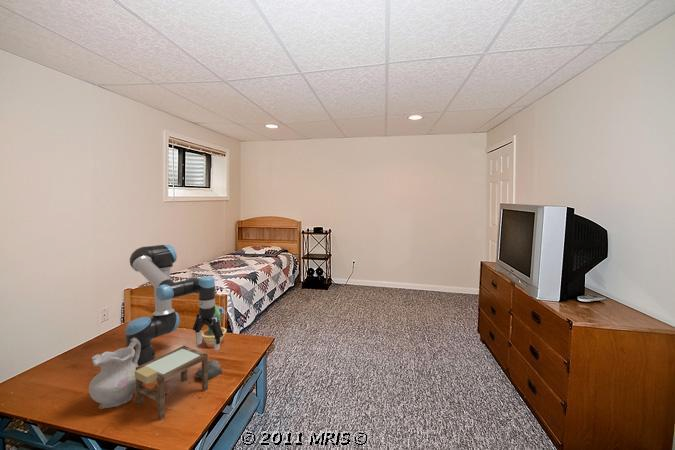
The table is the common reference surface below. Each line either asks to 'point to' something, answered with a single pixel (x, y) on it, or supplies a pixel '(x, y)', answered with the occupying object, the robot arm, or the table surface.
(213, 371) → the rock
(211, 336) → the potted cactus
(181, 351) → the trapdoor
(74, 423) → the table surface
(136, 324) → the robot arm
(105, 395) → the ceramic pitcher
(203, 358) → the stand
